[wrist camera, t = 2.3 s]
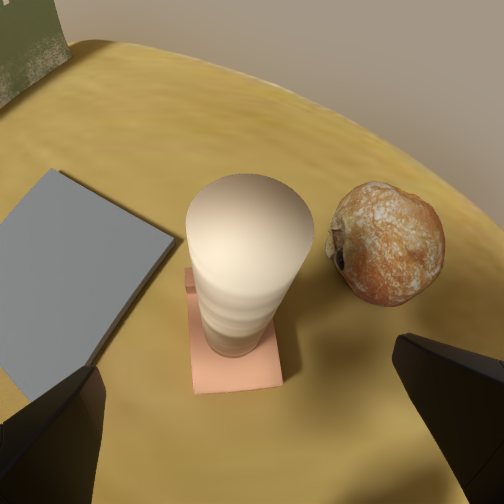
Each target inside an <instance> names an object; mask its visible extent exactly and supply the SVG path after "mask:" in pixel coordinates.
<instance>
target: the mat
mask: <svg viewBox="0 0 504 504" xmlns="http://www.w3.org/2000/svg"><path fill="white" fill-rule="evenodd" d="M174 245H175V240H174V238H173V237H171V236H169V235H167V234H166V233H164V232H162V231H160V230H158V229H157V228H155V227H153V226H151V225H149V224H148V223H146V222H144V221H142V220H141V219H139V218H137V217H135V216H133V215H132V214H130V213H128V212H126V211H125V210H123V209H121V208H119V207H118V206H116V205H114V204H112V203H111V202H109V201H107V200H105V199H104V198H102V197H100V196H98V195H97V194H95V193H93V192H92V191H90V190H88V189H86V188H85V187H83V186H81V185H79V184H78V183H76V182H74V181H73V180H71V179H69V178H68V177H66V176H64V175H62V174H61V173H59V172H57V171H56V170H54V169H52V168H51V169H50V170H49V171H48V172H47V173H46V174H45V175H44V176H43V177H42V178H41V179H40V180H39V181H38V182H37V183H36V184H35V185H34V186H33V187H32V189H31V190H30V191H29V192H28V193H27V194H26V195H25V196H24V197H23V198H22V200H21V201H20V202H19V203H18V204H17V205H16V206H15V207H14V209H13V210H12V211H11V212H10V213H9V215H8V216H7V217H6V218H5V219H4V221H3V222H2V223H1V224H0V366H1V367H2V369H3V370H4V371H5V372H6V374H7V375H8V376H9V377H10V379H11V380H12V381H13V382H14V383H15V385H16V386H17V387H18V388H19V389H20V390H21V392H22V393H23V394H24V395H25V396H26V397H27V398H28V399H29V400H30V401H31V402H33V401H34V400H35V399H37V398H38V397H40V396H41V395H42V394H44V393H45V392H47V391H48V390H49V389H51V388H52V387H54V386H55V385H57V384H58V383H59V382H61V381H62V380H64V379H65V378H66V377H68V376H69V375H71V374H72V373H73V372H75V371H76V370H78V369H79V368H81V367H82V366H84V365H87V366H90V365H91V363H92V362H93V360H94V359H95V357H96V356H97V354H98V352H99V351H100V349H101V348H102V346H103V345H104V343H105V342H106V340H107V339H108V337H109V336H110V334H111V333H112V331H113V330H114V328H115V327H116V325H117V324H118V322H119V321H120V320H121V318H122V317H123V315H124V314H125V312H126V311H127V309H128V308H129V307H130V305H131V304H132V302H133V301H134V299H135V298H136V297H137V295H138V294H139V292H140V291H141V290H142V288H143V287H144V286H145V284H146V283H147V281H148V280H149V279H150V277H151V276H152V275H153V273H154V272H155V270H156V269H157V268H158V266H159V265H160V264H161V262H162V261H163V260H164V258H165V257H166V256H167V254H168V253H169V252H170V250H171V249H172V248H173V247H174Z"/></svg>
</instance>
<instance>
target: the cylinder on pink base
mask: <svg viewBox="0 0 504 504" xmlns="http://www.w3.org/2000/svg"><path fill="white" fill-rule="evenodd" d="M186 232H187V238H188V245H189V251H190V257H191V263H192V268H185V288H186V292H187V300H188V320H189V337H190V351H191V364H192V376H193V387H194V394H196V395H204V394H218V393H230V392H241V391H250V390H259V389H267V388H274V387H279V386H282V385H283V380H282V373H281V367H280V360H279V353H278V347H277V340H276V334H275V327H274V321H273V316H274V314H275V312H276V311H277V309H278V307H279V305H280V303H281V302H282V300H283V298H284V296H285V295H286V293H287V291H288V289H289V287H290V286H291V284H292V282H293V280H294V278H295V277H296V275H297V273H298V271H299V269H300V267H301V266H302V264H303V262H304V260H305V258H306V256H307V255H308V253H309V251H310V248H311V246H312V243H313V239H314V223H313V218H312V215H311V212H310V210H309V208H308V206H307V205H306V203H305V202H304V200H303V199H302V198H301V197H300V196H299V195H298V194H297V193H296V192H295V191H294V190H293V189H291V188H290V187H288V186H287V185H285V184H283V183H282V182H280V181H278V180H275V179H273V178H270V177H267V176H262V175H257V174H235V175H230V176H226V177H222V178H220V179H218V180H215V181H213V182H212V183H210V184H208V185H207V186H205V187H204V188H203V189H202V190H201V191H200V192H199V193H198V194H197V195H196V196H195V197H194V199H193V201H192V202H191V204H190V206H189V209H188V212H187V216H186Z"/></svg>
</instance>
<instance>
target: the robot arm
mask: <svg viewBox="0 0 504 504" xmlns="http://www.w3.org/2000/svg"><path fill="white" fill-rule="evenodd" d="M392 362H393V365H394V367H395V369H396V371H397V373H398V375H399V377H400V379H401V381H402V383H403V385H404V387H405V389H406V391H407V394H408V395H409V397H410V399H411V401H412V403H413V404H414V406H415V408H416V409H417V411H418V412H419V414H420V416H421V417H422V419H423V421H424V422H425V424H426V426H427V427H428V429H429V431H430V433H431V434H432V436H433V438H434V439H435V441H436V443H437V445H438V446H439V448H440V450H441V451H442V453H443V455H444V457H445V459H446V460H447V462H448V464H449V466H450V467H451V469H452V471H453V473H454V475H455V477H456V478H457V480H458V482H459V484H460V486H461V488H462V489H463V492H464V494H465V496H466V498H467V500H468V502H469V504H504V361H501V360H499V361H498V360H497V359H494V358H490V357H487V356H483V355H480V354H477V353H473V352H470V351H467V350H463V349H460V348H457V347H453V346H450V345H447V344H444V343H440V342H437V341H434V340H431V339H427V338H424V337H421V336H418V335H415V334H412V333H406V334H402V335H399V336H398V337H397V339H396V342H395V346H394V350H393V354H392ZM105 400H106V389H105V386H104V383H103V380H102V378H101V375H100V372H99V370H98V368H97V367H96V366H87V365H84V366H82V367H81V368H79V369H78V370H76V371H75V372H73V373H72V374H71V375H69V376H68V377H66V378H65V379H64V380H62V381H61V382H59V383H58V384H57V385H55V386H54V387H52V388H51V389H49V390H48V391H47V392H45V393H44V394H42V395H41V396H40V397H38V398H37V399H35V400H34V401H33V402H31V403H30V404H28V405H27V406H26V407H24V408H23V409H21V410H20V411H19V412H17V413H16V414H14V415H13V416H11V417H10V418H9V419H7V420H6V421H4V422H3V424H0V504H91V502H92V494H93V487H94V481H95V474H96V468H97V462H98V457H99V451H100V446H101V440H102V432H103V420H104V410H105Z"/></svg>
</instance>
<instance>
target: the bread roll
mask: <svg viewBox="0 0 504 504" xmlns="http://www.w3.org/2000/svg"><path fill="white" fill-rule="evenodd" d="M329 233H330V237H329V238H328V239H327V241H326V253H327V255H328V257H329V258H331V259H333V261H334V262H335V265H336V267H337V269H338V271H339V272H340V274H341V275H342V276H343V277H344V279H345V280H346V282H347V283H348V284H349V286H350V287H351V288H352V290H353V292H354V293H355V294H356V295H357V296H358V297H360V298H361V299H363V300H365V301H366V302H369V303H371V304H375V305H378V306H384V307H395V306H399V305H402V304H404V303H405V302H407V301H409V300H410V299H411V298H413V297H414V296H415V295H417V294H419V293H420V292H422V291H423V290H424V289H425V288H426V287H428V286H429V285H430V284H431V283H432V282H433V281H434V280H435V279H436V278H437V277H438V275H439V274H440V271H441V269H442V267H443V261H444V254H445V237H444V233H443V229H442V224H441V221H440V219H439V217H438V215H437V214H436V212H435V210H434V209H433V207H432V206H431V205H429V204H428V203H426V202H424V201H423V200H422V199H421V198H420V197H418V196H417V195H415V194H409V193H407V192H405V191H403V190H401V189H399V188H397V187H394V186H392V185H390V184H387V183H384V182H376V181H372V182H368V183H365V184H362V185H360V186H357V187H356V188H354V189H353V190H352V191H350V192H349V193H348V194H347V195H346V196H345V197H344V198H343V199H342V200H341V201H340V203H339V205H338V207H337V210H336V212H335V215H334V217H333V219H332V222H331V226H330V229H329Z"/></svg>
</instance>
